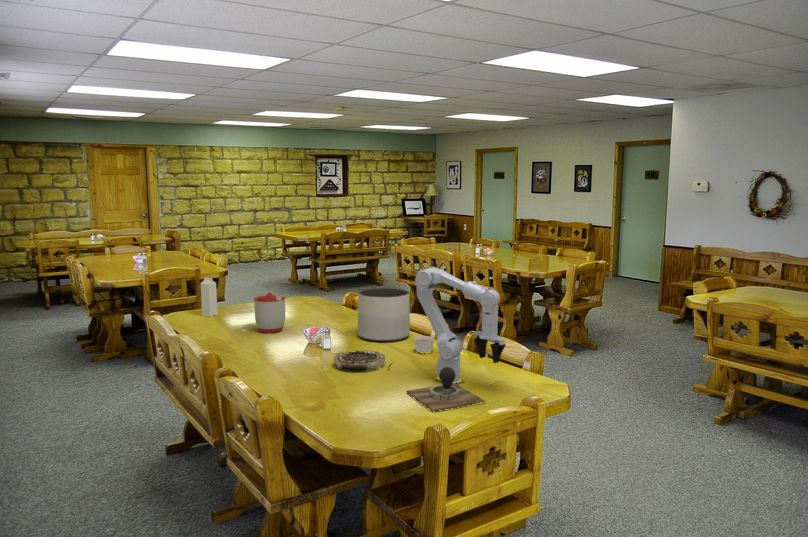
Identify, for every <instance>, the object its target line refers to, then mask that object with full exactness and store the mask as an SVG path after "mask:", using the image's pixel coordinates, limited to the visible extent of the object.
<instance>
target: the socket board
mask: <svg viewBox="0 0 808 537" xmlns="http://www.w3.org/2000/svg"><path fill="white" fill-rule="evenodd" d="M434 386H435V385H433V386H428V387H421V388H414V389H408V390H406V391H405V393H406V392H407V393H408V394H410V395H411V396H412V397H414V398H415V399H416V400H417V401H419V402H420V403H422V404H423V405H425V406H426V407H427V408H429V409H430V410H431V411H439V410H445V409H450V410H452V409H451V408H456V409H458V408H457V407H461V408H463V407H462V406H466V407H468V406H467V405H472V404H476V403H480V402H486V401H485V399H483V398H481V397H480V396H478V395H476V394H475V393H473V392H471V391H470V390H468V389H466V388H464V387H463V386H461V385H459V383H457V384H456V383H452V386H454V387H456V388H458V389H459V397H458V398H457V399H455V400H449V401H442V400H437V399H433V398H432V397H430V388H432V387H434ZM436 393H440V394H444V391H441V392H436ZM451 393H452V392H451ZM408 394H407V395H408ZM411 396H410V397H411ZM412 397H411V398H412ZM415 399H414V400H415ZM416 400H415V401H416ZM417 401H416V402H417ZM419 402H418V403H419ZM420 403H419V404H420ZM422 404H421V405H422ZM423 405H422V406H423ZM472 406H473V405H472ZM426 407H425V408H426ZM427 408H426V409H427ZM430 410H429V411H430ZM431 411H430V412H431ZM445 411H446V410H445ZM439 412H440V411H439Z"/></svg>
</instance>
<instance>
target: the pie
mask: <svg viewBox="0 0 808 537" xmlns="http://www.w3.org/2000/svg"><path fill="white" fill-rule="evenodd" d="M385 360H389V359H388V358H386V355H385V354H384V353H382V352H380V351H376V350H375V351H374V350H366V349H360V350H358V349H357V350H350V351H349V350H348V351H345V352H339V353H337V354H335V356H333V362H334V363H335V365H336V368H337V369H339V370H342V371H347V372H355V373H356V372H357V373H358V372H359V373H362V372H363V373H364V371H367V372H371V371H370V370H373V371H378V370H377V369H379V368H380V367H381V366H382V365H383V366H384V363H385V362H386V361H385ZM381 368H382V367H381ZM379 370H380V369H379Z"/></svg>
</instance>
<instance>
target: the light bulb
mask: <svg viewBox="0 0 808 537" xmlns="http://www.w3.org/2000/svg"><path fill="white" fill-rule="evenodd" d="M439 378H440V380H441V385H443V388H444V394H450V393H451V386H452V383H453V381H454V380H455V372H454V370H453V369H452V368H450V367H445V368H443V369H442V370H441V371H440V373H439Z"/></svg>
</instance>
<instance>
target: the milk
mask: <svg viewBox="0 0 808 537" xmlns="http://www.w3.org/2000/svg"><path fill="white" fill-rule="evenodd" d="M217 294H218V293H217V282H215V281H214V280H213V277H206V276H204V277H203V280H202V281H201V282H200V299H201V300H200V301H201V303H200V304H201V316H202V315H205V316H213V315H217V316H218V296H217Z"/></svg>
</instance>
